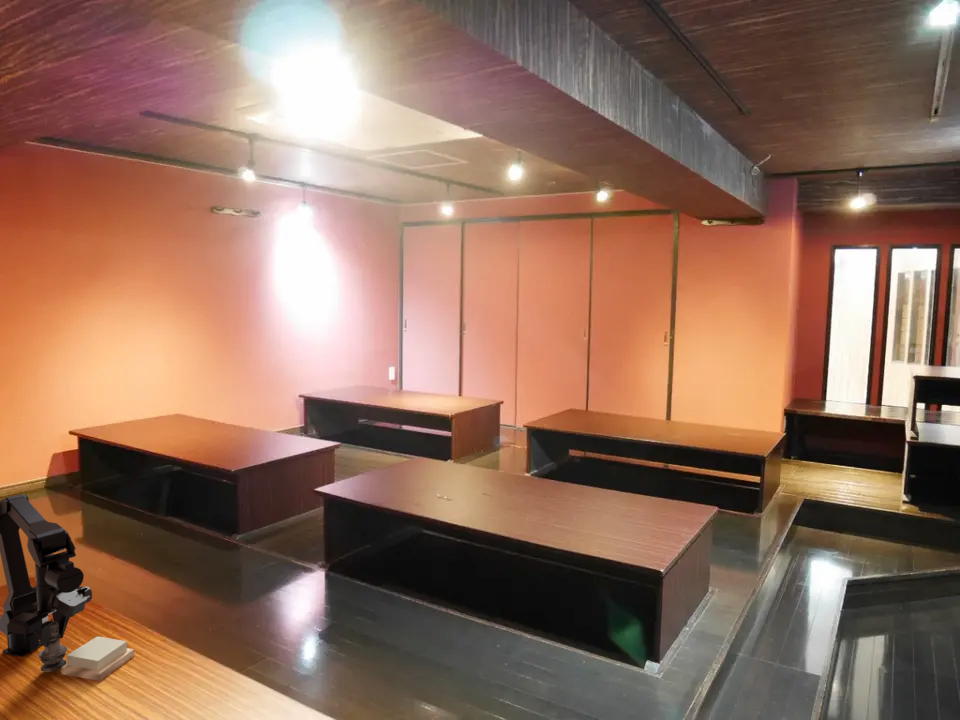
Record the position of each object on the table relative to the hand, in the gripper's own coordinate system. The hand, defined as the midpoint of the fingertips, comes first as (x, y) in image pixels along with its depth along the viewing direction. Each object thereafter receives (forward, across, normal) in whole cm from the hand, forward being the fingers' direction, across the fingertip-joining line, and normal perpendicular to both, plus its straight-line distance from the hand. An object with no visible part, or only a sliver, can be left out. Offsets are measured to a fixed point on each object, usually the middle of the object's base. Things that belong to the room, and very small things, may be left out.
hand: (53, 642), depth 155 cm
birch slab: (+8, +5, -8) cm, 12 cm away
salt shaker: (+6, 0, 0) cm, 6 cm away
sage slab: (+6, +5, -8) cm, 11 cm away
